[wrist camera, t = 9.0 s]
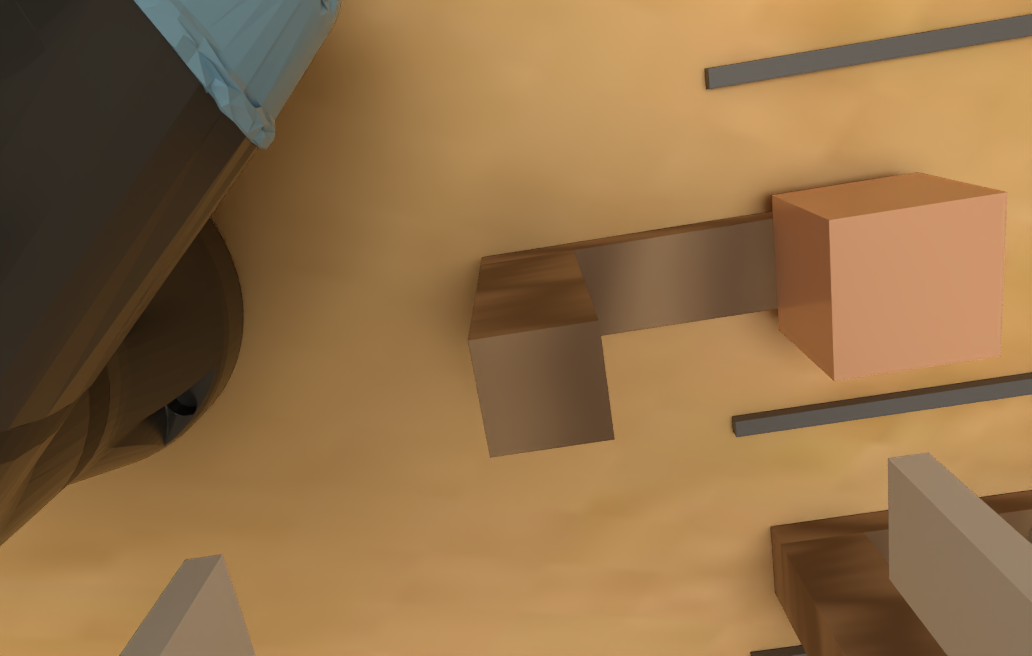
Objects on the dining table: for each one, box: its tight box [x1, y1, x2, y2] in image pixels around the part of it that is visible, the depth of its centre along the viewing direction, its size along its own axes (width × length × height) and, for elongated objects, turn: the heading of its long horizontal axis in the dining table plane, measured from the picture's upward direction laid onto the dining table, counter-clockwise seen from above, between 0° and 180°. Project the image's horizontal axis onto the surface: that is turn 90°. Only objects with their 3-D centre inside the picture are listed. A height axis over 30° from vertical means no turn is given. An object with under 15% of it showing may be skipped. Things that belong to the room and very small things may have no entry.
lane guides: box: [705, 14, 1032, 656], centre depth 34 cm, size 24×31×3 cm
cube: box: [772, 172, 1007, 381], centre depth 30 cm, size 6×6×6 cm
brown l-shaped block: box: [468, 211, 778, 457], centre depth 29 cm, size 20×4×12 cm, turn 99°
